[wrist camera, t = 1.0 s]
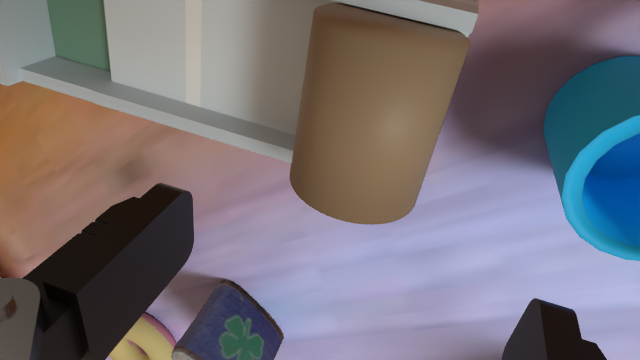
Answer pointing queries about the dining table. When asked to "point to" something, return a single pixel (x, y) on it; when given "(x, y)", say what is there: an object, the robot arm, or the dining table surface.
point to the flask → (230, 329)
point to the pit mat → (80, 31)
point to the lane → (275, 83)
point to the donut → (145, 342)
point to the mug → (599, 154)
